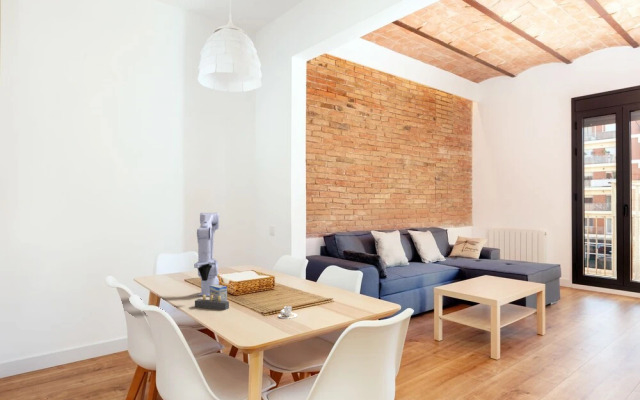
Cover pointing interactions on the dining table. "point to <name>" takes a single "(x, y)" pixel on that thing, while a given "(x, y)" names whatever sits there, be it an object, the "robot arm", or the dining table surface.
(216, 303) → the pin header
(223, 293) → the medicine box
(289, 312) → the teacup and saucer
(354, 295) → the dining table surface
